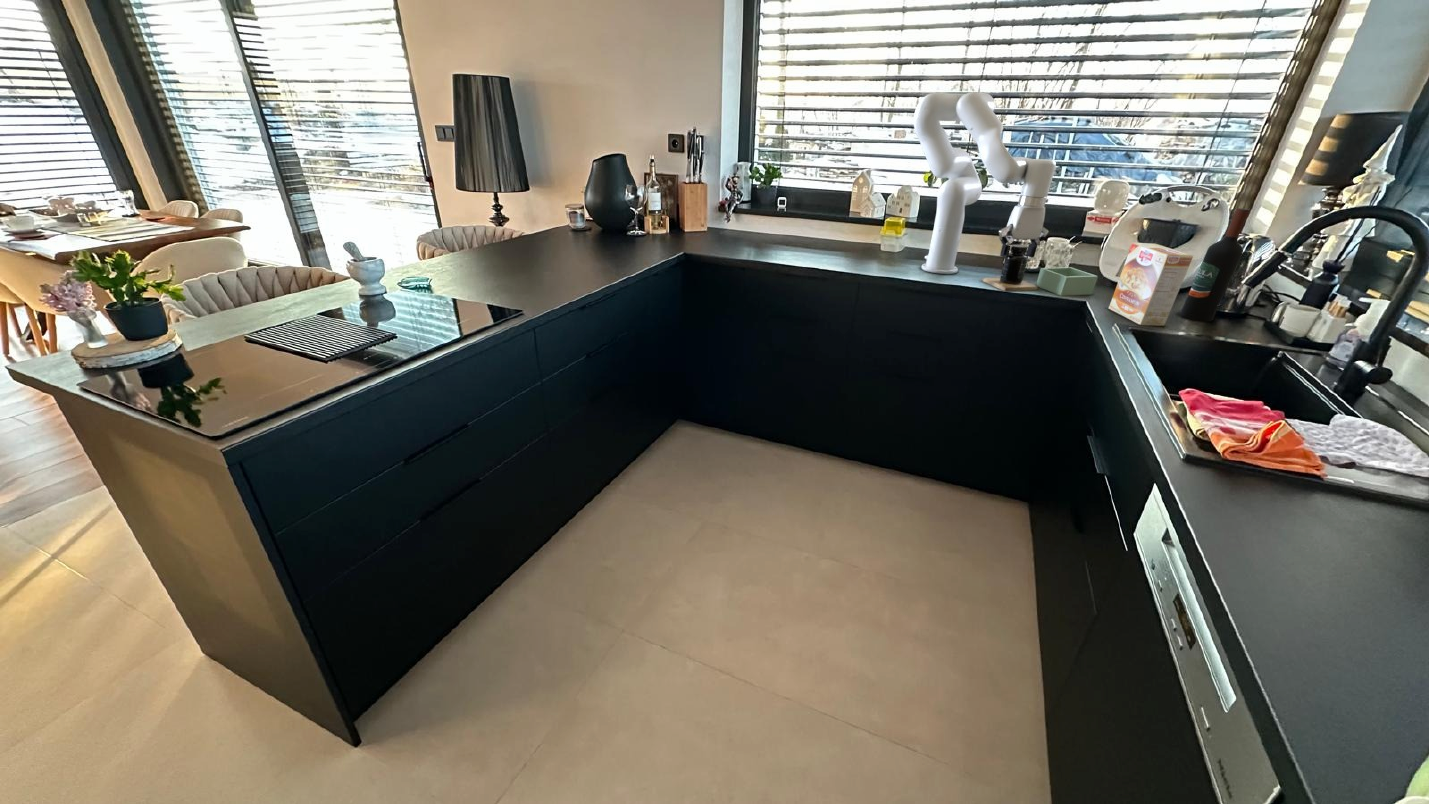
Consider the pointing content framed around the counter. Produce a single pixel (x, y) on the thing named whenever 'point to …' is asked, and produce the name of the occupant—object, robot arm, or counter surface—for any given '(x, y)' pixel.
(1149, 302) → the coffeecake box
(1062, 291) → the box
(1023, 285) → the cork board
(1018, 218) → the robot arm
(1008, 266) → the supplement bottle
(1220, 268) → the wine bottle
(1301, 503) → the counter surface
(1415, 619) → the counter surface
